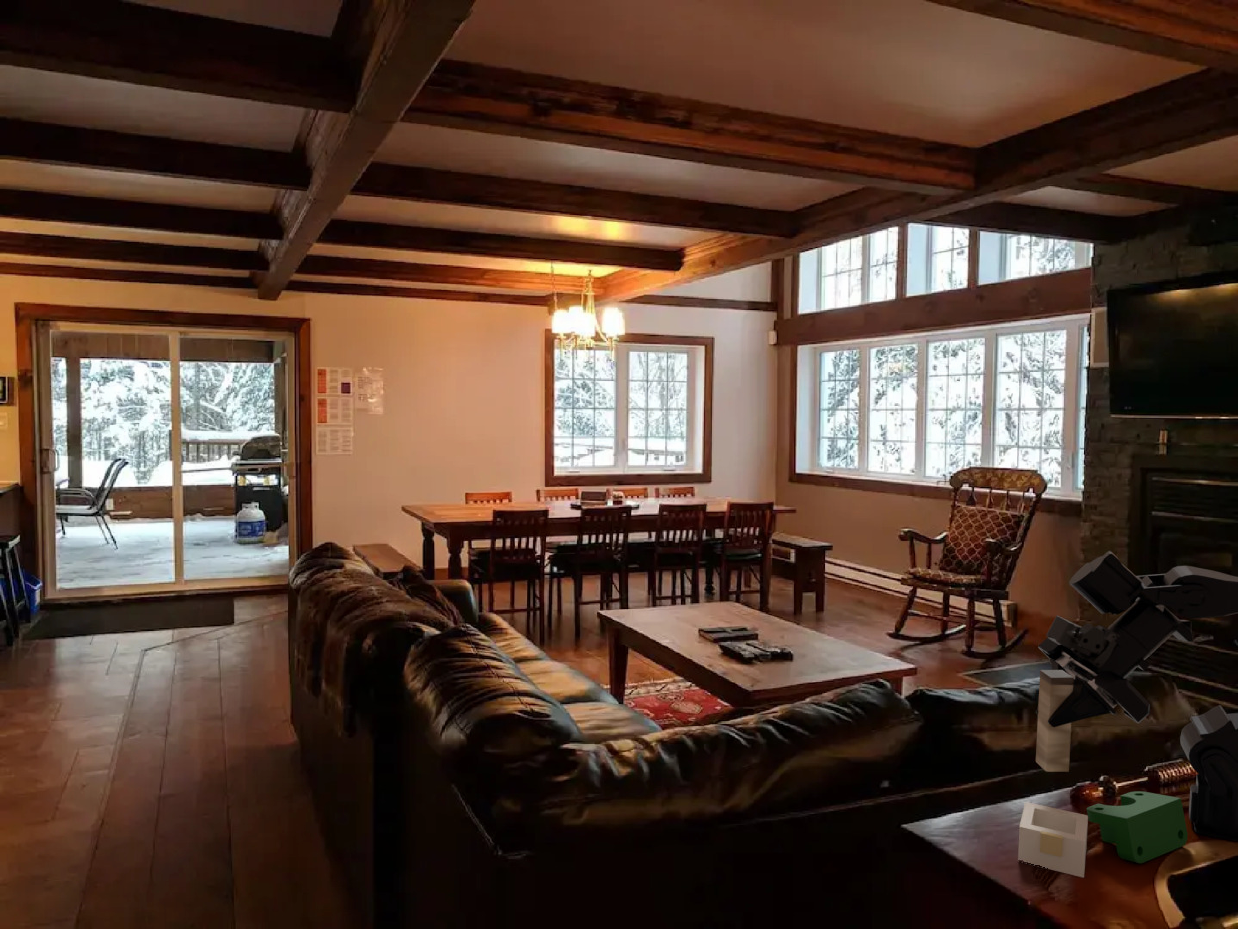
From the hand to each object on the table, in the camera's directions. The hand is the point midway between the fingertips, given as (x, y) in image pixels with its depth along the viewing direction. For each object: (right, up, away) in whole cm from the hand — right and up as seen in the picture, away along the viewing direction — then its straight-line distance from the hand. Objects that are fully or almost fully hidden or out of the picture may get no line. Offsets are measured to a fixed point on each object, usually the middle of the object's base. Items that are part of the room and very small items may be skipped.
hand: (1044, 719), depth 117 cm
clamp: (+9, -14, -6) cm, 18 cm away
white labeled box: (-3, -14, -9) cm, 17 cm away
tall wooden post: (+1, -7, +1) cm, 7 cm away
